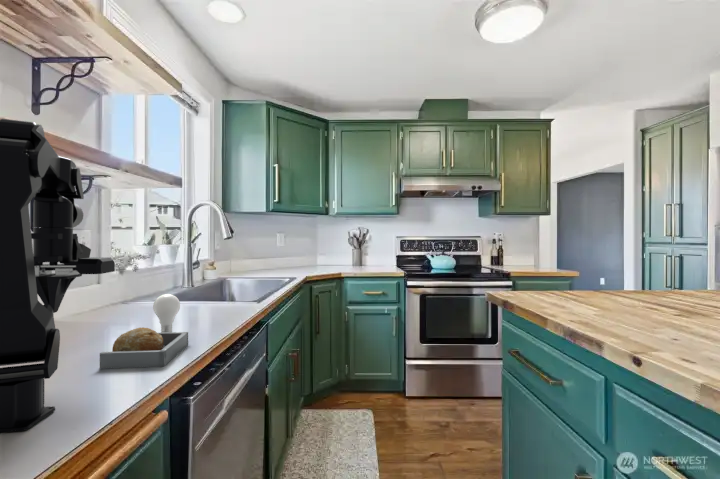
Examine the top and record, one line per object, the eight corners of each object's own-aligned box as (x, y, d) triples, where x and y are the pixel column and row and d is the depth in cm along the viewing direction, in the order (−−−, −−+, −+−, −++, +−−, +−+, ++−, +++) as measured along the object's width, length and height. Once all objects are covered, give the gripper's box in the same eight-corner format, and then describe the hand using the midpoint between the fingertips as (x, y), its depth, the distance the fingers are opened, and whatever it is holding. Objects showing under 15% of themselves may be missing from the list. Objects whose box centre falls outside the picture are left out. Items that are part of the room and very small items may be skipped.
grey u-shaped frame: (164, 366, 78) (164, 351, 78) (99, 368, 76) (99, 353, 76) (188, 344, 93) (188, 331, 93) (135, 345, 92) (135, 333, 92)
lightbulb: (172, 339, 98) (172, 296, 98) (147, 338, 98) (148, 295, 98) (184, 332, 104) (184, 292, 104) (161, 332, 104) (161, 292, 104)
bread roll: (108, 379, 80) (103, 349, 77) (121, 346, 89) (117, 318, 86) (161, 374, 83) (158, 345, 80) (168, 343, 92) (166, 315, 89)
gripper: (128, 229, 80) (127, 304, 80) (28, 228, 78) (28, 305, 78) (99, 228, 69) (99, 314, 69) (-18, 226, 67) (-18, 316, 67)
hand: (53, 312), depth 71 cm, fingers closed
